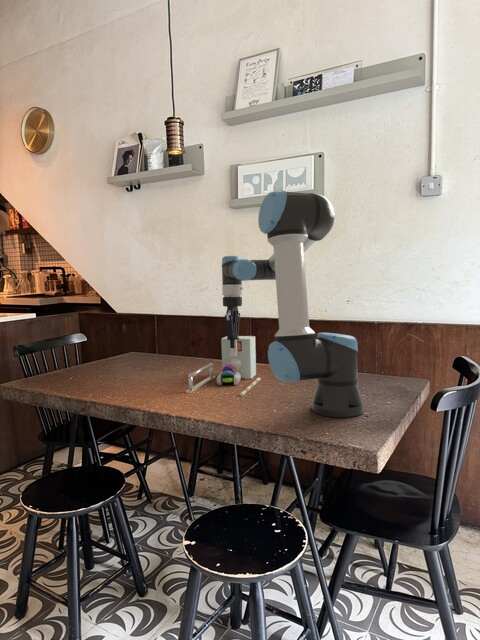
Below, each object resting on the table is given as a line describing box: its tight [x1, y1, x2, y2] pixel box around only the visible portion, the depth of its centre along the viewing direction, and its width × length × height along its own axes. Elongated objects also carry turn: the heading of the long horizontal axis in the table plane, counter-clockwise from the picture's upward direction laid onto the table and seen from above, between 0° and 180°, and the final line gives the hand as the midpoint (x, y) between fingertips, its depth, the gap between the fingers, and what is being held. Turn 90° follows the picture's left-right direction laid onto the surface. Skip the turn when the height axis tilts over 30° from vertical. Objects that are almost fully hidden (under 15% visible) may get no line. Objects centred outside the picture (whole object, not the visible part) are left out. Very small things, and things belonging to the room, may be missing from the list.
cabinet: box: [220, 335, 257, 380], centre depth 180 cm, size 8×12×16 cm
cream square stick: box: [239, 377, 262, 397], centre depth 163 cm, size 25×1×1 cm, turn 163°
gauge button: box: [237, 342, 242, 350], centre depth 177 cm, size 3×4×3 cm
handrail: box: [185, 362, 217, 394], centre depth 168 cm, size 25×2×6 cm, turn 163°
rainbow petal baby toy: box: [216, 365, 242, 386], centre depth 169 cm, size 8×10×7 cm
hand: (233, 356), depth 174 cm, fingers closed
